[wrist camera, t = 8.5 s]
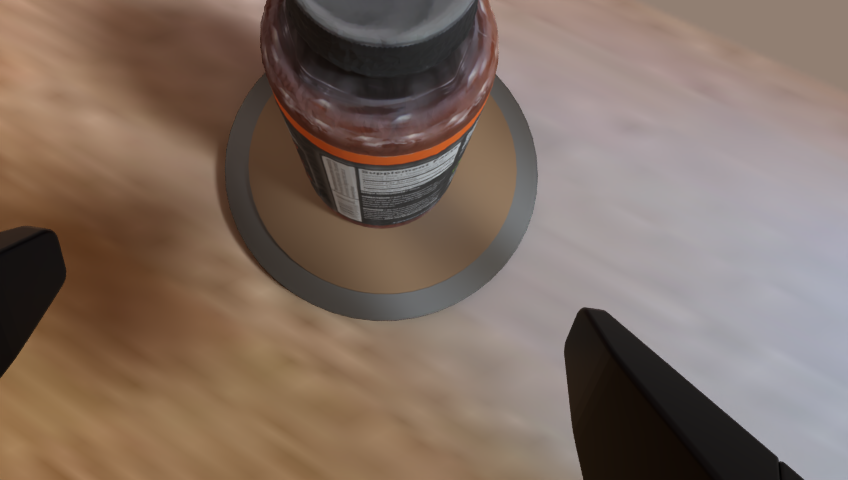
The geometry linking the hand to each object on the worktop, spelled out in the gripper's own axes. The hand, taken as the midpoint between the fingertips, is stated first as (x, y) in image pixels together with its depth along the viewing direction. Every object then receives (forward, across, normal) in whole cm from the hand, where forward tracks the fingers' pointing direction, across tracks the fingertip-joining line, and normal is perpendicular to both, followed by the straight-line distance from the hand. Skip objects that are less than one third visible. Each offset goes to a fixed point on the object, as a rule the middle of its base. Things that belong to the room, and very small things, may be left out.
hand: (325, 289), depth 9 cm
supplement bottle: (+12, 0, +3) cm, 13 cm away
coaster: (+13, 0, +3) cm, 13 cm away
